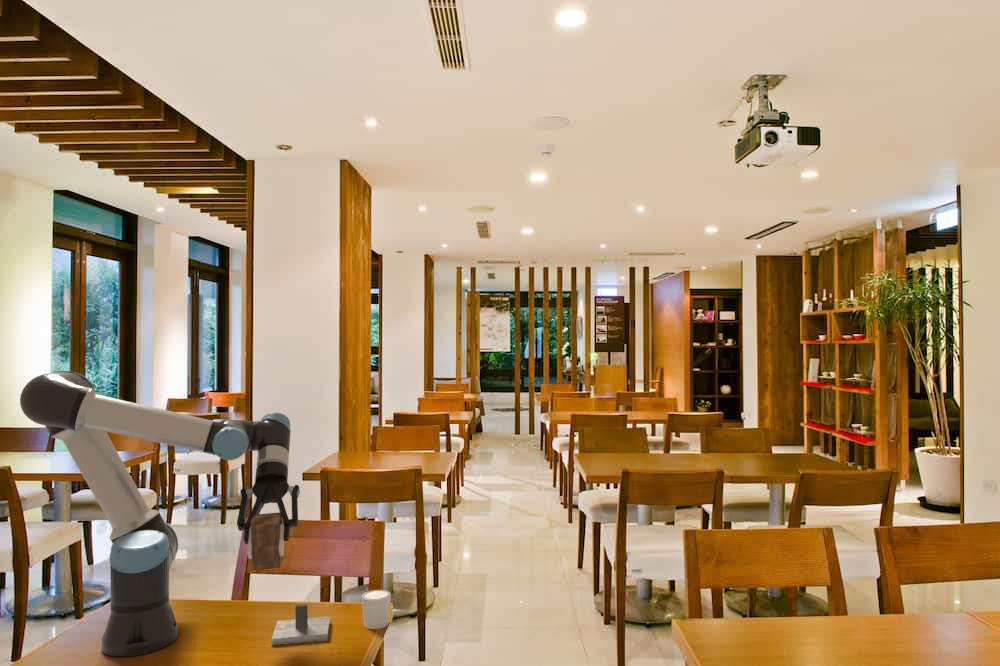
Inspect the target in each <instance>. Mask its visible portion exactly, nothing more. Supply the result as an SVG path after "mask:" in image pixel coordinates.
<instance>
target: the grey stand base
mask: <svg viewBox="0 0 1000 666" xmlns="http://www.w3.org/2000/svg"><path fill="white" fill-rule="evenodd" d="M294 609H295V618H294V619H283V620H282V619H281V620H277V621H276V624H275V627H274V631H273V633H272V635H271V636H272V637H271V646H272V645H273V646H281V645H280V644H284V645H290V644H289V643H295V644H300V643H299V642H306V643H314V642H313V641H317V642H326V641H328V639H329V633H328V632H329V631H330V625H329V624H330V623H331V620H330V619H331V617H330V616H321V617H320V616H319V617H308V616H309V612H308V611H309V606H308V603H301V604H295V608H294Z"/></svg>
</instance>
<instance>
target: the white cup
mask: <svg viewBox="0 0 1000 666" xmlns="http://www.w3.org/2000/svg"><path fill="white" fill-rule="evenodd" d="M391 597H392V594H391V592H390V591H389V590H384V589H374V590H368V591H365V592H364V593H362V595H361V604H362V606H361V607H362V614H363V625H364V627H365V628H366V629H370V630H379V629H383V628H386V627H387V626H388V625H389V621H390V611H391Z"/></svg>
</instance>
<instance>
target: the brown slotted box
mask: <svg viewBox="0 0 1000 666" xmlns="http://www.w3.org/2000/svg"><path fill="white" fill-rule="evenodd" d="M282 524H283V520H282V516H281V512H280V511H279V512H272V513H271V512H270V513H259V514H256V515H254V516H253V518H252V520H251V544H252V559H251V570H252V571H259V570H270V569H280V568H281V566H282V564H283V560H284V556H280V554H279V539H280V525H282Z"/></svg>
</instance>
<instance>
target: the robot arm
mask: <svg viewBox="0 0 1000 666" xmlns="http://www.w3.org/2000/svg"><path fill="white" fill-rule="evenodd" d="M19 405H20V409H21V410H22V412H23V414H24V415H25V417H27V418H28V419H29V420H30V421H32V422H34V423H35V424H37V425H41V426H42V425H43V426H45V428H46V429H47V431H48V433H49V435H50V437H51V438H52V439H58V440H61V441H62V442H63V444H64V446H65V448H66V449H67V451H68V452H69V454H70V456H71V458H72V459H73V461H74V463H75V465H76V466H77V468H78V470H79V472H80V474H81V475H82V476H83V479H84V480H85V482H86V485H87V486H88V488H89V489H90V491H91V493H92V495H93V496H94V498H95V500H96V502H97V503H98V504H99V506H100V509H101V510H102V512H103V514H104V516H105V517H106V519H107V520H108V523H109V524H110V526H111V527H112V531H111V533H110V535H109V540H110V541H111V543H112V545H111V547H110V553H109V563H110V613H109V616H108V620H107V623H106V627H105V630H104V633H103V635H102V637H101V651H102V653H104V655H107V656H110V657H116V658H117V657H120V658H121V657H122V658H123V657H124V658H125V657H134V656H135V657H136V656H139V655H140V656H141V655H145V654H148V653H152V652H155V651H158V650H161V649H163V648H165V647H167V646H169V645H170V644H172V643H173V642H175V641H176V640H177V638H178V635H179V634H178V633H179V632H178V629H179V627H178V623H177V621H176V618H175V615H174V612H173V609H172V607H171V604H170V568H171V566H172V564H173V562H174V560H175V558H176V556H177V553H178V550H179V542H178V541H179V540H178V535H177V533H176V531H175V530H174V528H173V527H172V526H171V525H170V524H168V523H166V522H165V520H164V518H163V517H162V515H161V513H160V512H159V510H157V509H152V508H149V506H148V504H147V503H146V501H145V499H144V497H143V495H142V494H141V491H140V490H139V489H138V486H137V485H136V483H135V481H134V480H133V478H132V476H131V474H130V472H129V471H128V469H127V467H126V465H125V463H124V462H123V460H122V458H121V456H120V455H119V453H118V451H117V449H116V447H115V445H114V443H113V442H112V440H111V439H110V437H109V434H108V433H110V434H115V435H120V436H124V437H129V438H135V439H139V440H142V441H149V442H152V443H153V442H154V443H157V444H163V445H166V446H167V445H168V446H172V447H178V448H182V449H185V450H192V451H197V452H202V453H205V454H208V455H213V456H217V457H218V458H219V459H221V460H225V461H234V460H237V459H239V458H240V457H242V456H243V455H244V454H245V453H246V451H251V452H256V451H257V458H256V470H255V479H254V484H253V486H252V487H251V488H248V489H245V488H241V489H240V495H241V501H240V506H239V511H238V515H237V521H236V526H237V530H238V531H240V532H242V531H243V532H244V533H243V534H244V535H243V542H244V544H245V545H247V552H246V554H247V558H248V560H252V544H251V520H252V518H253V516H254V515H256V514H261V511H262V509H263V508H264V507H265V505H266V504H270V503H271V504H276V505H277V508H278V510H279V511H278V512H279V513H280V512H281V516H282V525H280V539H279V554H280V556H283V557H284V554H285V551H284V550H285V542H289V540H290V534H291V533H290V532H291V528H292V527H297V526H298V525H299V507H298V505H299V504H298V500H299V499H298V498H299V496H300V493H301V492H300V486H299V485H298V484H295V485H294V486H293V485H290V484H289V483H288V477H289V468H288V467H289V460H290V459H289V457H290V443H291V420H290V419H289V417H288V415H287V416H286V415H285V414H283V413H281V412H276V411H275V412H274V411H273V412H272V413H266V414H265V415H263V416H262V417H261V419H260V420H257V421H254V420H242V419H241V420H239V419H228V418H223V419H222V418H219V419H218V418H217V419H216V418H215V419H213V420H211V419H206V418H202V417H198V416H193V415H188V414H185V413H180V412H176V411H171V410H167V409H163V408H158V407H154V406H150V405H147V404H146V405H145V404H140V403H136V402H133V401H127V400H124V399H119V398H116V397H115V398H114V397H110V396H106V395H101V394H98V393H97V392H96V389H95V386H94V384H93V382H91V379H89V378H88V377H86V376H84V375H83V374H80V373H78V372H74V371H72V370H71V371H70V370H60V371H56V372H50V373H44V374H40V375H38V376H35V377H34V378H32V379H30V380H29V381H28V382H27V384H26V385H24V387H23V389H22V391H21V393H20V399H19ZM288 492H289V495H290V496H291V518H290V519H289V516H288V514H287V510H286V507H285V504H284V501H283V500H284V499H283V498H284V497H285V496H286V494H288ZM252 495H254V496H255V503H254V505H253V507H252V509H251V510H250V513H249V515H248V518H247V514H248V513H247V512H248V507H249V500H250V499H251V498H252ZM246 518H247V520H246Z"/></svg>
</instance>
